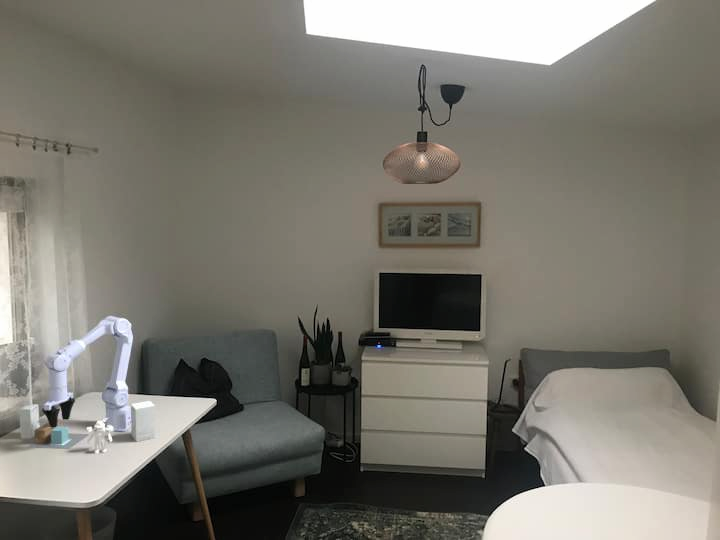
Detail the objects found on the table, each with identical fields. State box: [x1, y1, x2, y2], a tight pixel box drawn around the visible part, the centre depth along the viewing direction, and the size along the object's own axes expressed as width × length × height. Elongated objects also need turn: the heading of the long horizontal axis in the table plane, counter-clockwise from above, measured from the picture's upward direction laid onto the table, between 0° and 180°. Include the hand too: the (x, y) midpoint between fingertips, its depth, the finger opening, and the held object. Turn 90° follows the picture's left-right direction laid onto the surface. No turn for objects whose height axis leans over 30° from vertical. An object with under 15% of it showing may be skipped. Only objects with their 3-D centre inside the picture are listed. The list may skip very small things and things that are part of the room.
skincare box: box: [18, 403, 41, 440], centre depth 215 cm, size 6×4×12 cm
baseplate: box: [26, 432, 90, 450], centre depth 211 cm, size 16×14×1 cm
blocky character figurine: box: [85, 417, 114, 454], centre depth 203 cm, size 9×4×12 cm, turn 107°
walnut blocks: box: [34, 421, 60, 444], centre depth 212 cm, size 4×8×5 cm, turn 176°
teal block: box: [51, 426, 69, 444], centre depth 209 cm, size 4×4×5 cm
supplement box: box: [130, 400, 157, 442], centre depth 217 cm, size 7×7×13 cm
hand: (59, 423), depth 209 cm, fingers open, 7 cm apart
